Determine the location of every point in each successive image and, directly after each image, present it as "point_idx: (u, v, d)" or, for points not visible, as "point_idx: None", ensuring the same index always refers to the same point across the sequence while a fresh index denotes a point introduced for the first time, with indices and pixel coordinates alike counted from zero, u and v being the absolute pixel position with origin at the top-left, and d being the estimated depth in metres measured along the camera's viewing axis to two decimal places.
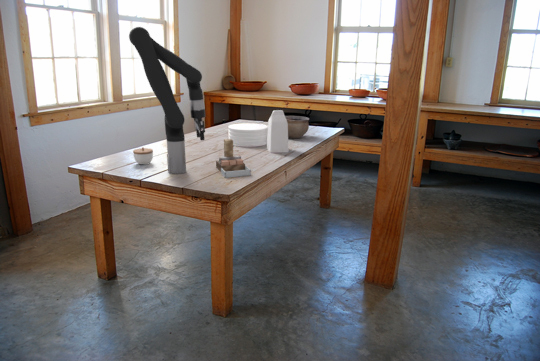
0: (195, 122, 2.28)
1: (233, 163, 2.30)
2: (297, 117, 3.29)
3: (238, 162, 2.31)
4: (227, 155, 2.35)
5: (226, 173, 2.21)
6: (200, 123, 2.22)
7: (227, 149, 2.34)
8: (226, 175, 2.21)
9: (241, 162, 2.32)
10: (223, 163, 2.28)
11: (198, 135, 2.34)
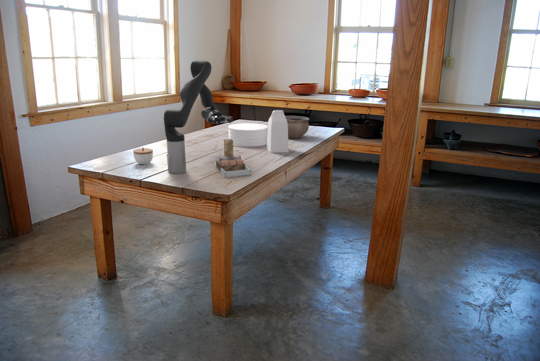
0: (217, 116, 2.49)
1: (233, 163, 2.30)
2: (297, 117, 3.29)
3: (238, 162, 2.31)
4: (227, 155, 2.35)
5: (226, 173, 2.21)
6: None
7: (227, 149, 2.34)
8: (226, 175, 2.21)
9: (241, 162, 2.32)
10: (223, 163, 2.28)
11: None
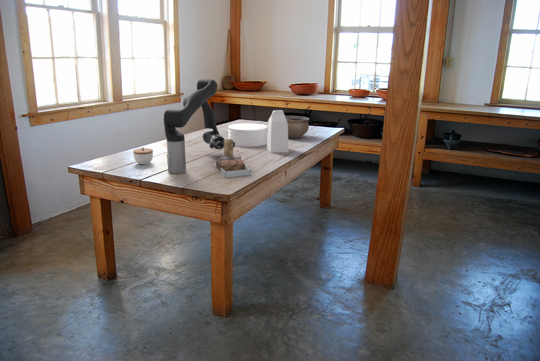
0: (220, 141, 2.49)
1: (233, 163, 2.30)
2: (297, 117, 3.29)
3: (238, 162, 2.31)
4: (227, 155, 2.35)
5: (226, 173, 2.21)
6: None
7: (227, 149, 2.34)
8: (226, 175, 2.21)
9: (241, 162, 2.32)
10: (223, 163, 2.28)
11: None
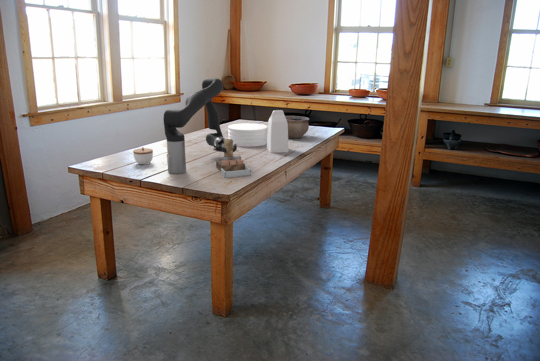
0: (223, 143, 2.42)
1: (233, 163, 2.30)
2: (297, 117, 3.29)
3: (238, 162, 2.31)
4: (227, 155, 2.35)
5: (226, 173, 2.21)
6: (236, 145, 2.43)
7: (227, 149, 2.34)
8: (226, 175, 2.21)
9: (241, 162, 2.32)
10: (223, 163, 2.28)
11: None
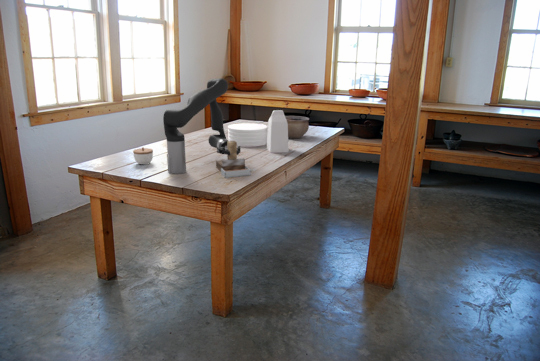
0: None
1: None
2: (297, 117, 3.29)
3: None
4: (230, 158, 2.29)
5: (226, 173, 2.21)
6: None
7: (230, 151, 2.28)
8: (226, 175, 2.21)
9: None
10: None
11: None
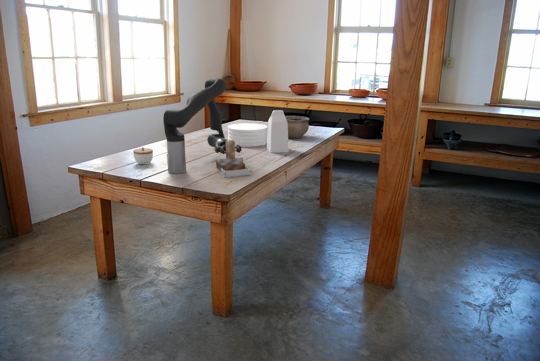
0: (225, 145, 2.38)
1: None
2: (297, 117, 3.29)
3: None
4: (229, 157, 2.31)
5: (226, 173, 2.21)
6: None
7: (229, 150, 2.30)
8: (226, 175, 2.21)
9: None
10: None
11: None
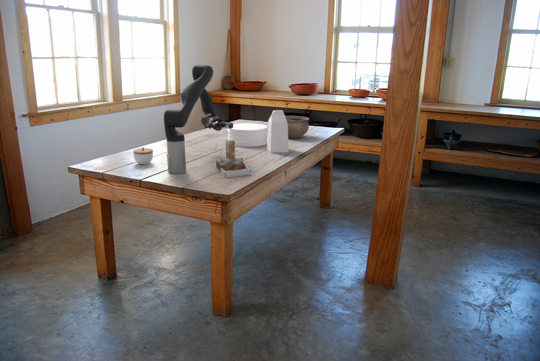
0: (218, 122, 2.48)
1: None
2: (297, 117, 3.29)
3: None
4: (229, 157, 2.31)
5: (226, 173, 2.21)
6: None
7: (229, 150, 2.30)
8: (226, 175, 2.21)
9: None
10: None
11: None
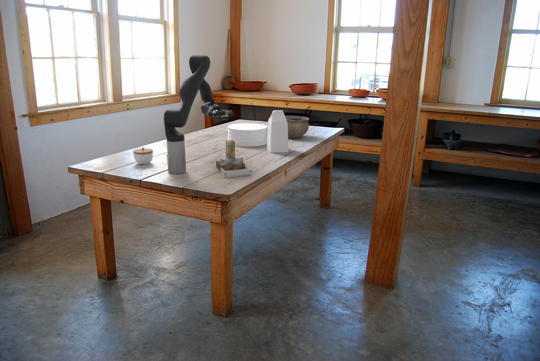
0: (218, 110, 2.46)
1: None
2: (297, 117, 3.29)
3: None
4: (229, 157, 2.31)
5: (226, 173, 2.21)
6: None
7: (229, 150, 2.30)
8: (226, 175, 2.21)
9: None
10: None
11: None
